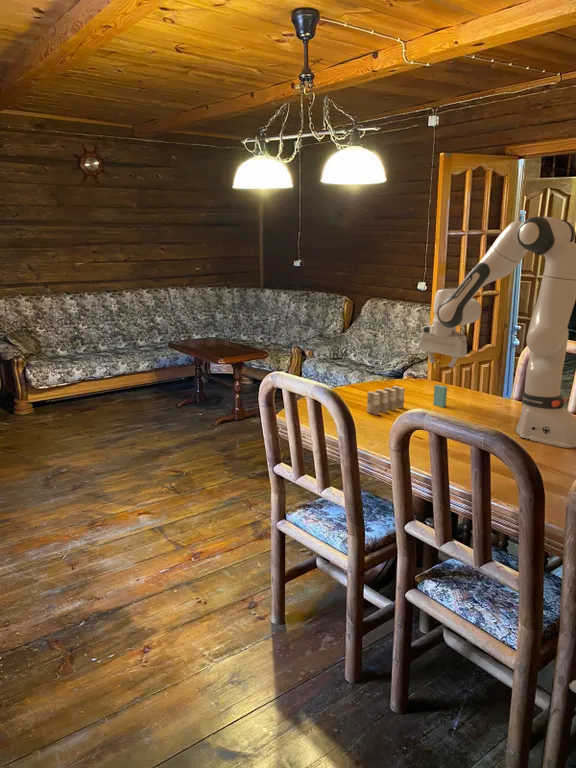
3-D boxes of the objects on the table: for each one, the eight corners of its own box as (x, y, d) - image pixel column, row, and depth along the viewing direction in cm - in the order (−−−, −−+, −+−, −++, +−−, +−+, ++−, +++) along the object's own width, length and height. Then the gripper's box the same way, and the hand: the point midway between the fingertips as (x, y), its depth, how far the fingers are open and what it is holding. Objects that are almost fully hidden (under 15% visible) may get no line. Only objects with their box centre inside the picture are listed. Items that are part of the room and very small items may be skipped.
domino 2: (387, 411, 227) (388, 391, 225) (383, 412, 226) (384, 392, 224) (378, 409, 231) (379, 389, 229) (375, 410, 229) (375, 390, 227)
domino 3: (395, 409, 230) (396, 389, 228) (392, 410, 228) (392, 390, 227) (387, 407, 233) (387, 387, 231) (383, 408, 232) (384, 388, 230)
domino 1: (379, 414, 224) (380, 393, 222) (375, 415, 223) (376, 394, 221) (370, 411, 228) (371, 391, 226) (366, 412, 227) (367, 392, 225)
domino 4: (403, 407, 232) (404, 388, 230) (400, 408, 231) (400, 388, 229) (394, 405, 236) (395, 385, 234) (391, 406, 235) (392, 386, 233)
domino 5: (445, 406, 234) (447, 386, 232) (442, 407, 233) (443, 387, 231) (436, 404, 237) (437, 384, 235) (433, 404, 236) (434, 385, 234)
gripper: (471, 332, 221) (469, 368, 225) (429, 325, 237) (426, 359, 241) (461, 334, 218) (458, 370, 221) (418, 327, 233) (416, 361, 237)
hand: (441, 364), depth 231 cm, fingers open, 8 cm apart
